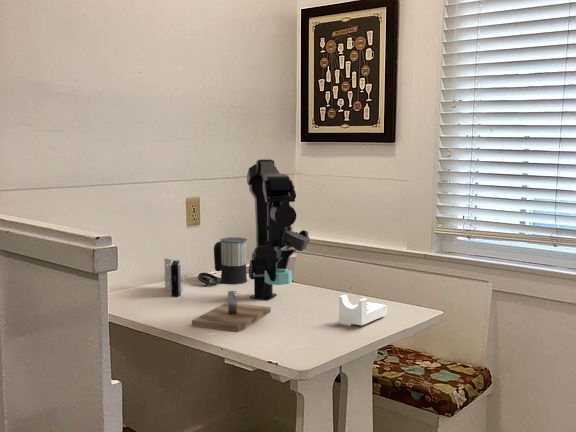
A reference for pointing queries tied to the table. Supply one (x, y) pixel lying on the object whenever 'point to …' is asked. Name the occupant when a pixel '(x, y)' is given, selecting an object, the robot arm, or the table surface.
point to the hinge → (174, 276)
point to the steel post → (232, 302)
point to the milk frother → (228, 262)
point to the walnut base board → (231, 317)
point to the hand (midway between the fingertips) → (278, 278)
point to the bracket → (359, 311)
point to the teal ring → (280, 277)
